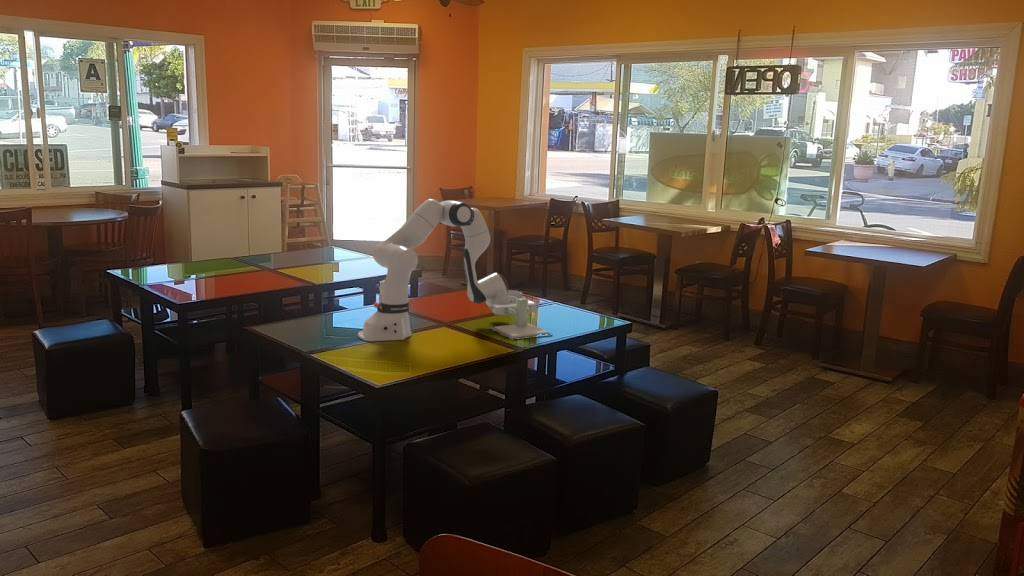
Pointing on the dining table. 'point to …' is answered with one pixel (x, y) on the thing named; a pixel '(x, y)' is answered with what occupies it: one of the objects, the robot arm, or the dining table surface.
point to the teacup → (514, 293)
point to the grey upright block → (521, 312)
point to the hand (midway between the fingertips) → (522, 311)
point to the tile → (519, 331)
